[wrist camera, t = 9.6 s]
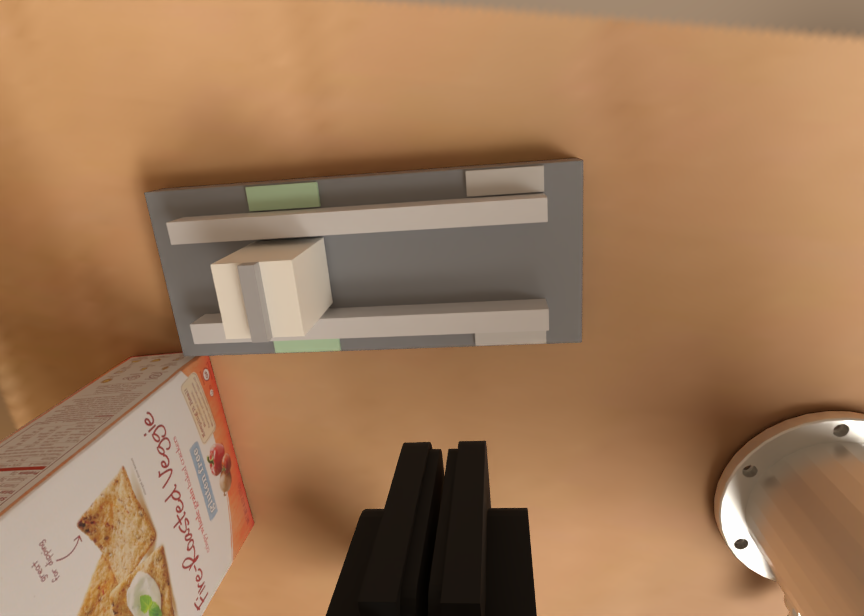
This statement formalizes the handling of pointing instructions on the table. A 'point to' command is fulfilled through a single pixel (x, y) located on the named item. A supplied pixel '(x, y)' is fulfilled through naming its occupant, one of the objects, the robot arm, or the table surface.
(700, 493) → the table surface
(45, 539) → the cracker box
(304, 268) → the switch tab
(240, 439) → the table surface
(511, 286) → the switch panel
